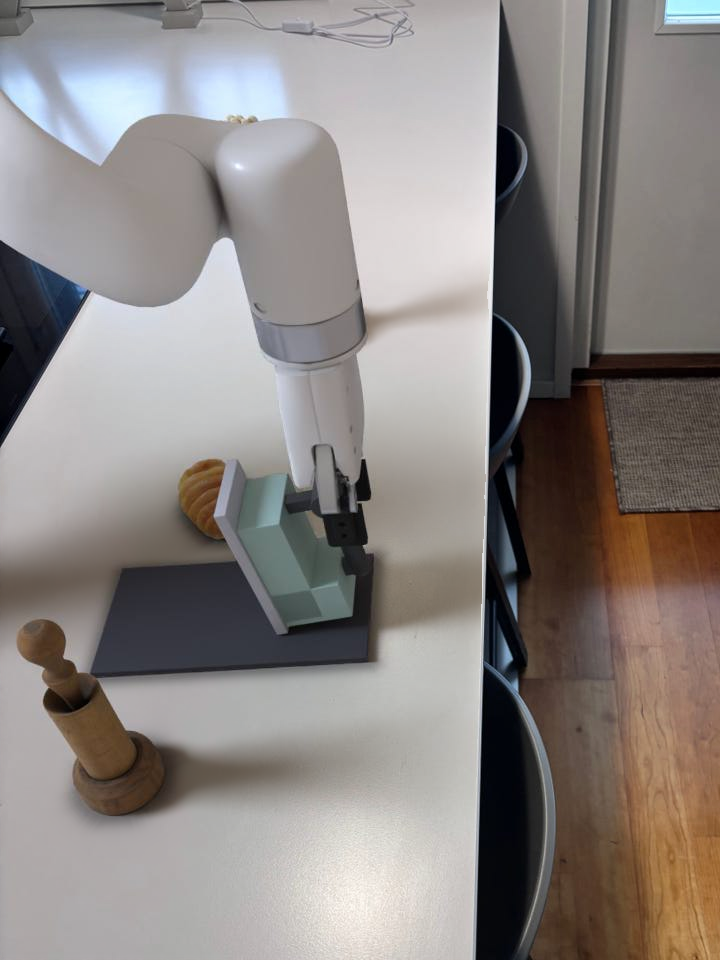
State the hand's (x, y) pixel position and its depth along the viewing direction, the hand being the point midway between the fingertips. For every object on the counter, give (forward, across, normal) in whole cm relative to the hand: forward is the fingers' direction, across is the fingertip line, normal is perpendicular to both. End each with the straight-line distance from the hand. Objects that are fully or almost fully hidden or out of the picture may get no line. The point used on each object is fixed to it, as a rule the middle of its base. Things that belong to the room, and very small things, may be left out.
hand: (350, 519), depth 81 cm
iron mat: (+11, 0, -12) cm, 16 cm away
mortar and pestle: (+11, +17, -19) cm, 28 cm away
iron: (+3, 0, -9) cm, 9 cm away
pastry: (+11, -15, -16) cm, 24 cm away
